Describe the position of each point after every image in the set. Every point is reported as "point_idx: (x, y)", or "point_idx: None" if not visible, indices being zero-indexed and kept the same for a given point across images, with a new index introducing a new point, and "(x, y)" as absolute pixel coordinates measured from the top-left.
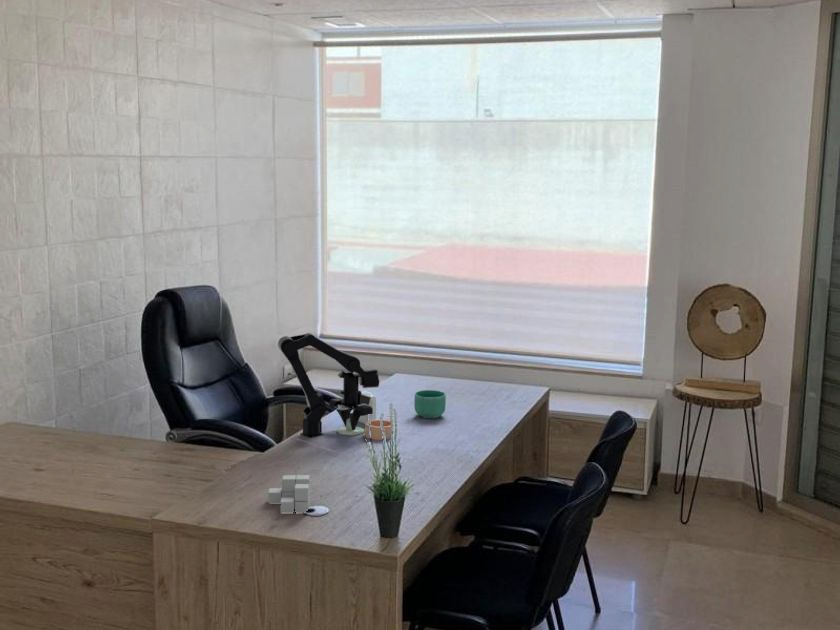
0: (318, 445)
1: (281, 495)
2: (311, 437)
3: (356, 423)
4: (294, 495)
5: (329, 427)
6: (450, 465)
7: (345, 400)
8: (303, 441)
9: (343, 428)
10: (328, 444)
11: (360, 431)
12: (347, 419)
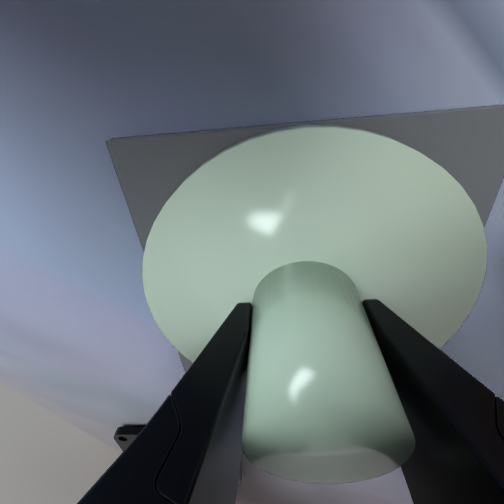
0: (367, 497)
1: None
2: (240, 479)
3: (452, 378)
4: None
5: (23, 307)
6: None
7: None
8: (261, 498)
9: (212, 324)
10: (398, 477)
11: (464, 267)
12: (289, 470)
